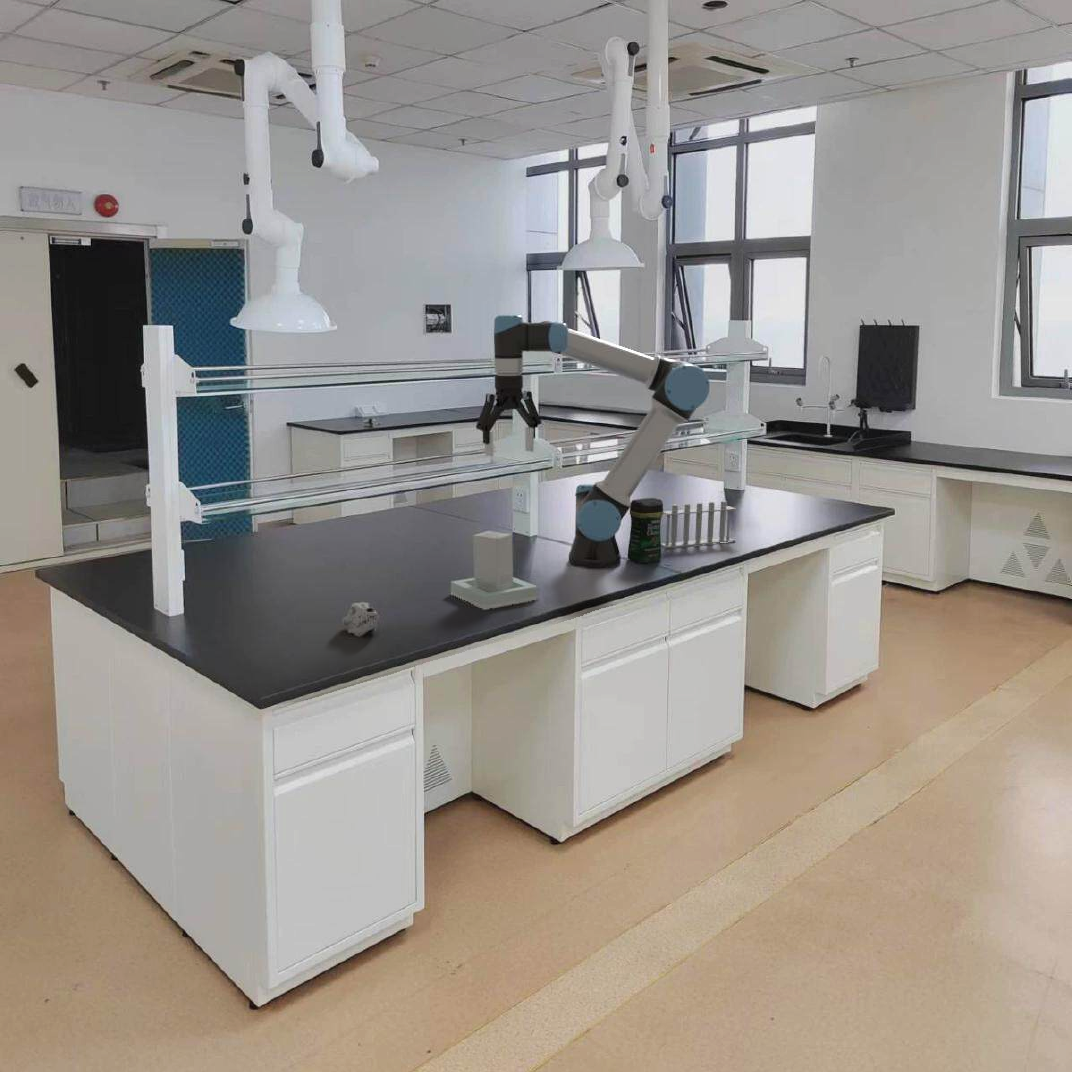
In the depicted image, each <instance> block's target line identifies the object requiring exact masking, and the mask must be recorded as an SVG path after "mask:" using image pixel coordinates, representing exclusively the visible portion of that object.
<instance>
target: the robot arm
mask: <svg viewBox="0 0 1072 1072" xmlns="http://www.w3.org/2000/svg"><path fill="white" fill-rule="evenodd" d="M493 321H494V322H493V323H494V324H493V327H494V329H493V347H494V349H493V350H494V372H495V374H496V375H495V376H494V389H495V394H493V393H486V394H485V402H484V404H483V407H482V410H481V412H480V414H479V418H478V420H477V423H476V426H475V428H476V430H480V431H481V432H482V443H483V444H484V456H487V457H494V432H493V431H492V429H493V427H494V425H495V424H496V423H497V421H498V419H499V417H500V416H501V415H502V413H503V412H504V411H505V410H506V411H509V410H516V411H517V413H518V414H519V416H520V417H521V419H522V420H523V421H524V422H525V424H526V425H527V426H525V427H524V429H525V430H524V431H525V436H524V439H525V441H524V442H525V446H524V447H525V451H526V452H534V439H536V428H539V425H541V424H542V419H541V417H540V414H539V412H538V410H537V407H536V405H535V402H534V399H533V392H532V391H530V390H523V388H524V376H523V373H524V362H523V359H524V357H523V356H524V355H523V354H524V352H539V353H540V352H545V353H546V352H551V353H553V354H555V355H556V354H557V355H560V356H562V357H565V358H569V359H572V360H574V361H577V362H580V363H583V364H585V365H589V366H591V367H594V368H598V369H599V370H603V371H606V372H609V373H610V374H611V373H612V374H615V375H618V376H620V377H623V378H626V379H630V380H631V381H635V382H638V383H641V384H643V385H644V387H645V388H646V389H647V390H649V391H652V392H654V393H653V395H652V396H651V403H652V404H651V405H652V406H651V408H650V409H649V410H648V412H647V414H646V415H645V416H644V419H642V422H641V423H640V424H639V426H638V427H637V429H636V431H635V432H634V433H633V435H632V436H631V438H630V440H628V443H627V444H626V445H625V447H624V448H623V450H622V451H621V454H620V455H619V456H618V458H617V459H616V461H615V462H614V464H613V466H612V467H611V469H610V470H609V472H608V473H607V475H606V476H605V477H604V479H603V480H600V481H596V482H595V483H594V484H586V483H585V484H579V485H577V486H576V489H575V493H574V495H575V518H574V519H575V522H574V524H575V525H574V526H575V529H574V539H573V542H572V545H571V548H570V551H569V552H568V563H569V564H570V565H571V566H574V567H578V568H583V569H594V570H595V569H597V570H598V569H599V570H600V569H610V568H615V567H618V566H620V565H621V560H622V559H621V558H622V557H621V553H620V548H619V545H618V542H617V538H616V535H617V533H618V531H619V529H620V527H621V526H622V525H621V523H622V520H623V518H624V517H625V516H626V514H627V512H628V511H630V507H631V502H632V501H631V497H632V495H633V494H634V492H635V491H636V489H637V488H638V486H639V485H640V483H641V482H642V480H643V479H644V478H645V476H646V474H647V473H648V472H649V470H650V469H651V466H652V465H653V464H654V462H655V461H656V459H657V458H658V456H659V454H660V453H661V451H662V450H663V449H664V448H665V446H666V445H667V443H668V441H669V440H670V438H671V436H672V435H673V434H674V432H675V431H676V429H677V428H678V426H679V425H680V424H683V423H686V422H687V423H688V421H689V420H690V418H691V417H692V415H694V413H695V411H696V410H697V409H698V408H700V406H702V405H703V404H704V403H705V402H706V400H707V398H708V396H709V393H710V387H711V386H710V381H709V377H708V375H707V373H706V372H705V371H704V369H703V368H701V367H700V366H698V365H696V364H694V363H691V362H688V361H684V360H683V361H682V360H677V359H670V358H667V357H664V356H660V355H657V356H655V357H653V356H649V355H646V354H643V353H641V352H637V351H635V350H633V349H632V350H631V349H630V348H629V349H628V348H627V347H626V348H625V347H623V346H620V345H618V344H617V345H616V344H614V343H612V342H608V341H606V340H603V339H599V338H598V337H597V338H596V337H594V336H591V335H588V334H585V333H583V332H580V331H576V330H573V329H571V328H568V324H567V323H564V322H557V321H556V322H552V321H549V320H545V321H544V320H543V321H541V322H524V320H523V316H522V315H518V314H517V315H516V314H514V315H510V314H509V315H507V314H502V315H497V316H496V317H495V318H494V320H493ZM522 390H523V391H522ZM522 400H523V402H524V403H523V402H522ZM495 402H496V403H495Z"/></svg>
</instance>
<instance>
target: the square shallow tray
mask: <svg viewBox="0 0 1072 1072" xmlns="http://www.w3.org/2000/svg"><path fill="white" fill-rule="evenodd" d="M538 588H539V587H538V585H535V584H532V583H529V582H528V581H524V580H522V579H520V578H516V577H514V576H513V588H512V589H507V590H501V591H496V592H490V593H488V592H485V591H483V590H481V589H478V588H476V587H475V581H474V577H470V578H463V579H458V580H451V581H450V595H451V596H453V595H454V596H453V597H455V596H456V597H455V598H457V597H458V599H459V598H460V600H461V599H462V601H464V600H465V601H464V602H466V601H468V602H470V603H471V604H470V603H469V604H470V605H472V604H473V606H475V607H477V608H479V609H481V608H482V609H481V610H490V608H492V609H496V608H497V609H498V608H501V607H507V606H512V604H513V605H518V604H523V603H529V602H533V601H532V600H534V601H537V600H538V590H539V589H538ZM528 601H529V602H528ZM468 602H467V603H468Z"/></svg>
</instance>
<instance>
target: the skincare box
mask: <svg viewBox="0 0 1072 1072" xmlns="http://www.w3.org/2000/svg"><path fill="white" fill-rule="evenodd" d="M472 545H473V546H472V547H473V550H472V551H473V570H474V571H473V575H474V576H473V578H474V581H475V587H476V588H478V589H481V590H483V591H485V592H488V593H490V592H496V591H501V590H507V589H512V588H513V577H514V563H513V562H514V560H513V557H514V556H513V534H510V533H505V532H498V531H491V530H486V531H483V532H481V533H477V534H473V535H472Z"/></svg>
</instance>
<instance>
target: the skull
mask: <svg viewBox="0 0 1072 1072" xmlns="http://www.w3.org/2000/svg"><path fill="white" fill-rule="evenodd" d="M341 620H342V621H341V622H342V625H343V627H344V628H346V629H347V633H348V634H354V636H356V637H357V638H358V637H361V636H363V635H365V634H366V633H367V632H369V631H372V632H373V633H376V631H377V626H378V621H380V616H379V614H378V612H377V611H376V610H375V608H374V607H371V606H370V603H368V602H365V601H364V602H363V601H361V602H353V603H352V604H351V606H350V609H349V610H348V612H347V615H346V616H344V617H342V619H341Z"/></svg>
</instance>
